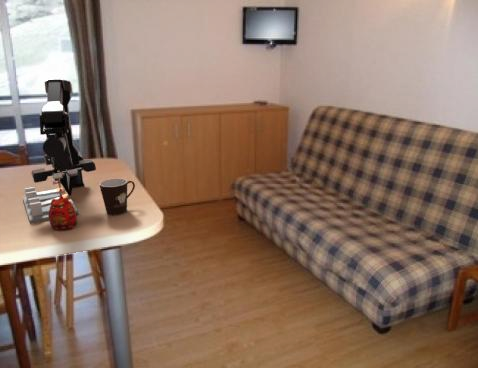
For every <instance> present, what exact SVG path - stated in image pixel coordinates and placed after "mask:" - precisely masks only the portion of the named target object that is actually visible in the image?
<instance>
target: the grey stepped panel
mask: <svg viewBox="0 0 478 368" xmlns="http://www.w3.org/2000/svg"><path fill="white" fill-rule="evenodd" d="M24 192H25V196H23V197H22V200H23V202H24V203H23V204H24V207H25V210H26V214H27V216H28V220H29V223H30V224H35V223H40V222H45V221H50V218H49V216H48V215H49V210H50V206H51V205H49V206H46V207H42V206H41V202H44V201H47V200H51V199H54V198H57V197H60V194H53V195H47V196H40V197H37V193H36V192H37V190H36V188H35V187H34V186H31V187H25V188H24ZM64 194H67V192H66V193H62V195H64ZM69 202H70V203H71V204H72V206H73V207H74V210H75V213H76V215H79V210H78V209H77V206H76V205H75V204H74V201H73V200H72V198H71V199H70V200H69Z"/></svg>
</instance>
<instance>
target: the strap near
mask: <svg viewBox="0 0 478 368" xmlns="http://www.w3.org/2000/svg"><path fill="white" fill-rule="evenodd" d="M62 196H63V198H64V199H68V200H70V199H71V200H72V195H68V194H64V195H62ZM54 199H59V197H57V198H54ZM52 200H53V199H51V200H47V201H44V202H41V206H42V207H46V206H49V205H51V201H52Z"/></svg>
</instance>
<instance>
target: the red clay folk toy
mask: <svg viewBox="0 0 478 368" xmlns="http://www.w3.org/2000/svg"><path fill="white" fill-rule="evenodd" d="M56 184H58V188H60V189H59V191H60V197H59V199H53V200H52V201H51V206H50V210H49V215H48V216H49V218H50V220H49V224H50V226H51V229H52V230H57V231H58V230H62V231H66V230H71V229H73V228H74V227H75V226H76V224H77V222H78V219H77V214H76V213H75V210H74V207H73V206H72V204H71V203H70V202H69V200H68V199H64V198H63V196H62V193H61V191H62V189H61V188H62V184H61V182H60V176H59V180H58V181H55V180H54V181H53V180H52V185H54V186H55V185H56Z"/></svg>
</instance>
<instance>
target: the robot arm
mask: <svg viewBox="0 0 478 368" xmlns="http://www.w3.org/2000/svg"><path fill="white" fill-rule="evenodd" d="M44 88H45V90H44V91H45V93H46V94H47V99H46V100H47V101H46V104H45V105H43V106H42V107H41V111H40V112H41V113H40V114H39V128H40V129H39V132H40V135H42V136H43V135H46V139H45V141H44V142H43V144H42V150H43V152H44V155H43V158H44V162H45V165H46V166H51V167H52V169H48V170H46V169H45V167H43V168H38V169H33V170H31V171H30V175H31V178H32V181H33V182H34V183H35V184H37V183H43V182H46V181H47V180H48V177H52V179H53V180H54V181H55V182H58V180H59V176H60V182H61V187H64V189H65V191H66V192H67V194H68V195H70V196H72V193H73V188H78V187H84V186H85V183H84V180H83V178H84V177H83V173H82V172H83V171H84V172H86V173H89V172H94V171H97V167H96V164H95V162H94V161H93V160H92V159H90V158H89V159H84V157H83V156H82V154H80V150H79V148H78V147H77V146H76V145H75V143H74V136H73V129H72V123H71V117H70V110H69V104H70V101H71V99H72V94H73V92H74V91H73V90H74V89H73V84H72V82H71V80H67V79H64V78H61V77H54V78H53V77H49V78H48V79H46V81H44Z"/></svg>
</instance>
